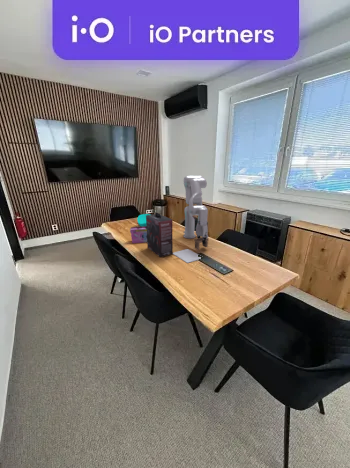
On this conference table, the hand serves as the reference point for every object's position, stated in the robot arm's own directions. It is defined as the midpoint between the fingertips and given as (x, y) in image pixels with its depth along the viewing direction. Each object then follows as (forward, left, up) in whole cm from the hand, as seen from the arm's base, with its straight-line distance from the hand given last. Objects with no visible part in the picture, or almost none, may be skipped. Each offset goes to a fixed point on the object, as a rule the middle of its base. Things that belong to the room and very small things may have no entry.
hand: (201, 242), depth 174 cm
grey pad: (+4, -17, -7) cm, 19 cm away
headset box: (-18, -31, -7) cm, 36 cm away
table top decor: (-78, -8, -7) cm, 78 cm away
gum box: (-46, -32, -7) cm, 57 cm away
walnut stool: (0, 0, -5) cm, 5 cm away
